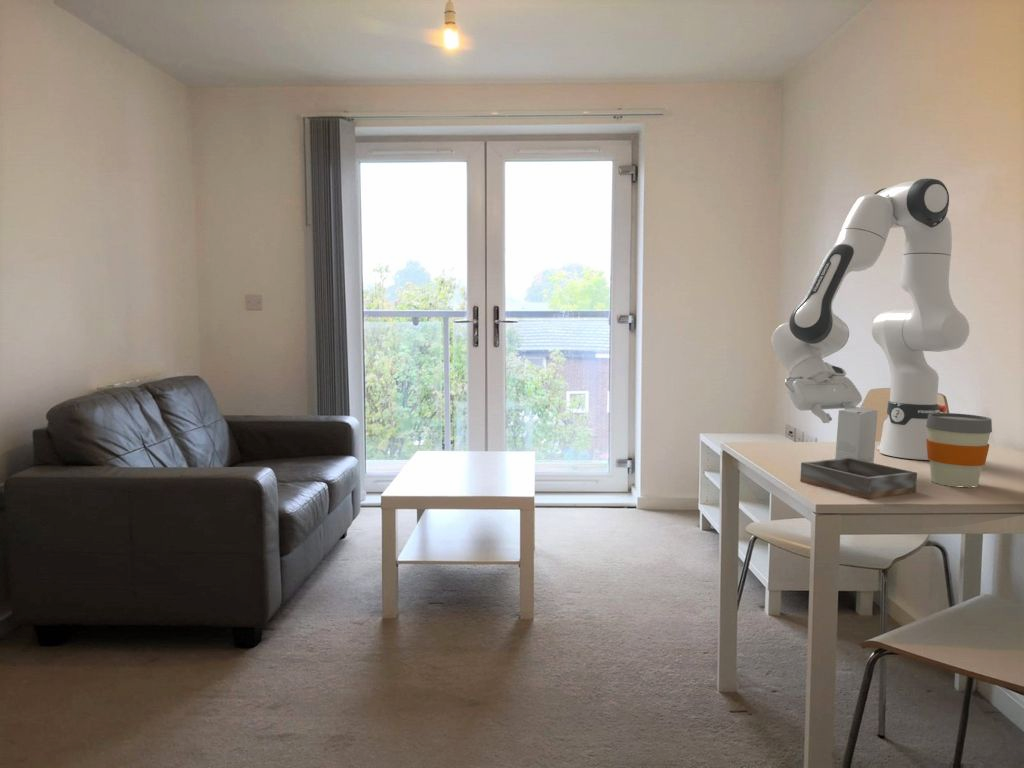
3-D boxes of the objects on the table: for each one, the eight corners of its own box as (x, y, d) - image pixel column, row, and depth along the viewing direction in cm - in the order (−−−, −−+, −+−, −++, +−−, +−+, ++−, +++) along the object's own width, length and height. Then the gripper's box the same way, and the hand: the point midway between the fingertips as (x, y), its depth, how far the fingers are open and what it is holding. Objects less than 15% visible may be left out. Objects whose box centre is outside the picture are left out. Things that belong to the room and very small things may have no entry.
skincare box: (850, 466, 180) (853, 406, 179) (874, 470, 175) (879, 409, 174) (833, 470, 175) (836, 408, 173) (858, 475, 170) (862, 411, 169)
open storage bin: (847, 475, 169) (848, 457, 169) (915, 492, 154) (917, 472, 154) (800, 481, 163) (801, 462, 162) (866, 499, 147) (868, 478, 147)
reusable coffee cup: (965, 477, 169) (971, 413, 168) (1000, 490, 157) (1006, 421, 156) (911, 476, 170) (915, 412, 168) (941, 489, 157) (946, 420, 156)
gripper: (789, 369, 179) (819, 414, 171) (848, 368, 188) (879, 411, 180) (774, 385, 183) (803, 430, 175) (832, 384, 192) (862, 426, 184)
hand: (842, 420), depth 178 cm, fingers open, 8 cm apart
